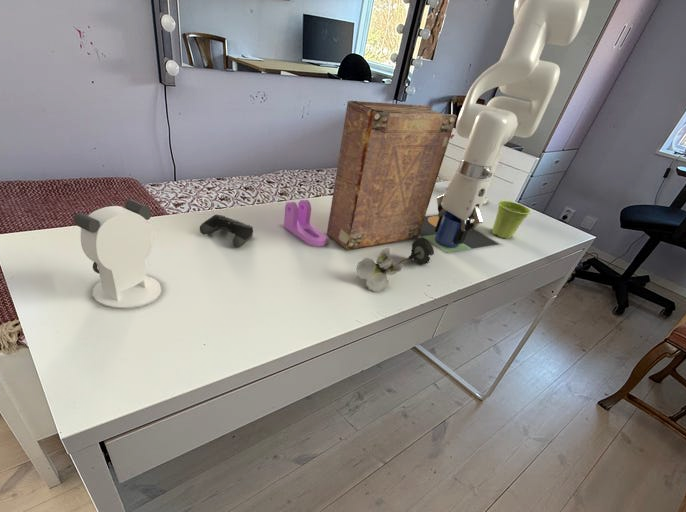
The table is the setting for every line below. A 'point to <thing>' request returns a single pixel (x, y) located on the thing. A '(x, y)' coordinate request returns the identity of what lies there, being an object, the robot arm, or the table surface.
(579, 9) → the robot arm
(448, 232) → the blue cup
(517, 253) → the table surface
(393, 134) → the book
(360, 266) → the artificial flower
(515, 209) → the plant pot
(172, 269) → the table surface
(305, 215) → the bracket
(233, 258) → the table surface
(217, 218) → the gaming controller
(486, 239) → the desk mat
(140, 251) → the white rounded piece
